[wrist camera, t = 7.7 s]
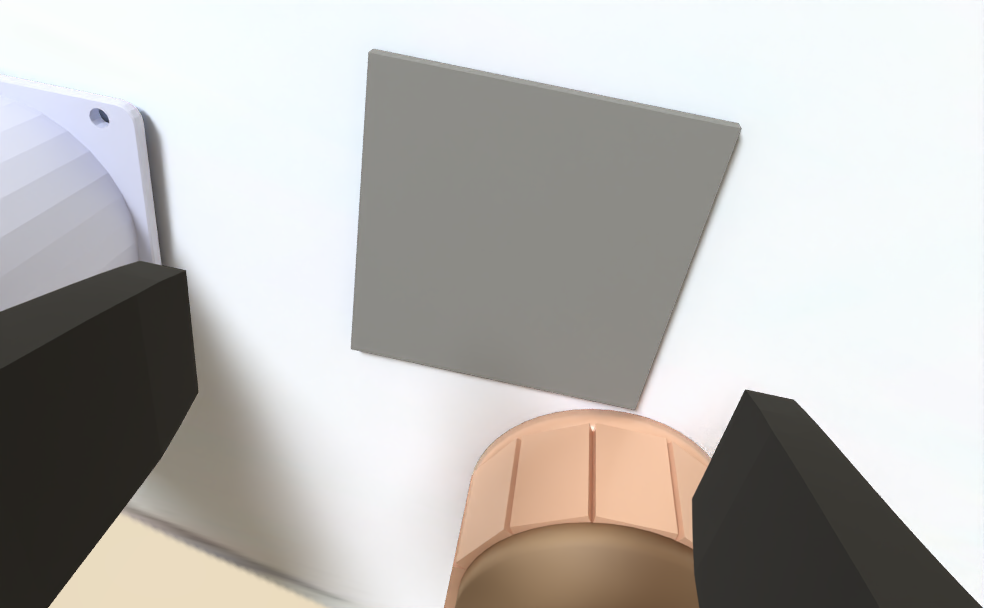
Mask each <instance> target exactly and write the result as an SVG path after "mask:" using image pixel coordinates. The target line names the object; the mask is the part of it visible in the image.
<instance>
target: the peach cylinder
mask: <svg viewBox="0 0 984 608" xmlns="http://www.w3.org/2000/svg"><path fill="white" fill-rule="evenodd" d="M710 461H711V458H710V457H709V456H708V455H707V454H706V452H705V451H704V450H702V449H701V448H700V447H699V446H698V445H697V444H696V443H695V442H693V441H692V440H690V439H689V438H687V437H686V436H685V435H683V434H682V433H680V432H678V431H676V430H674V429H672V428H671V427H669V426H667V425H665V424H662V423H660V422H657V421H654V420H652V419H649V418H646V417H642V416H638V415H635V414H631V413H626V412H619V411H613V410H600V409H581V410H569V411H562V412H555V413H551V414H547V415H543V416H539V417H537V418H534V419H531V420H529V421H526V422H524V423H522V424H520V425H518V426H516V427H514V428H512V429H510V430H509V431H507V432H506V433H504V434H503V435H501V436H500V437H499V438H497V439H496V440H495V441H494V442H493V443H492V444H491V445H490V446H489V447H488V448H487V449H486V450H485V452H484V453H483V454H482V456H481V457H480V459H479V461H478V462H477V464H476V466H475V468H474V471H473V474H472V477H471V481H470V486H469V491H468V496H467V500H466V505H465V510H464V514H463V519H462V524H461V529H460V533H459V538H458V543H457V548H456V553H455V557H454V562H453V567H452V572H451V576H450V581H449V586H448V591H447V595H446V600H445V605H444V608H455V605H456V599H457V594H458V589H459V586H460V583H461V579H462V577H463V575H464V574H465V572H466V570H467V568H468V567H469V566H470V565H471V563H472V562H473V561H474V560H475V559H476V558H477V557H478V556H479V555H480V554H481V553H483V552H484V551H485V550H486V549H488V548H489V547H491V546H492V545H494V544H496V543H497V542H499V541H501V540H503V539H505V538H507V537H510V536H512V535H514V534H517V533H520V532H523V531H526V530H529V529H533V528H538V527H543V526H547V525H554V524H563V523H583V522H592V523H608V524H616V525H623V526H629V527H634V528H638V529H642V530H646V531H650V532H654V533H657V534H660V535H662V536H665V537H668V538H671V539H673V540H676V541H678V542H680V543H682V544H684V545H686V546H689V547H690V548H692V549H693V536H692V497H693V495H694V493H695V491H696V489H697V487H698V485H699V483H700V481H701V479H702V477H703V475H704V473H705V471H706V469H707V467H708V465H709V463H710Z"/></svg>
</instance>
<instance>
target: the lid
mask: <svg viewBox="0 0 984 608" xmlns="http://www.w3.org/2000/svg"><path fill="white" fill-rule="evenodd" d="M455 608H699V603H698V597H697V590H696V583H695V576H694V560H693V549H692V548H690V547H689V546H686V545H684V544H682V543H680V542H678V541H676V540H673V539H671V538H668V537H665V536H662V535H660V534H657V533H654V532H650V531H646V530H642V529H638V528H634V527H629V526H623V525H616V524H608V523H592V522H583V523H563V524H554V525H547V526H543V527H538V528H533V529H529V530H526V531H523V532H520V533H517V534H514V535H512V536H510V537H507V538H505V539H503V540H501V541H499V542H497V543H496V544H494V545H492V546H491V547H489V548H488V549H486V550H485V551H484V552H483V553H481V554H480V555H479V556H478V557H477V558H476V559H475V560H474V561H473V562H472V563H471V565H470V566H469V567H468V568H467V570H466V572H465V574H464V575H463V577H462V579H461V583H460V586H459V589H458V594H457V599H456V605H455Z"/></svg>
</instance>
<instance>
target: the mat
mask: <svg viewBox="0 0 984 608" xmlns="http://www.w3.org/2000/svg"><path fill="white" fill-rule="evenodd" d="M740 131H741V127H740V125H739V123H734V122H730V121H725V120H720V119H715V118H710V117H705V116H700V115H695V114H690V113H685V112H681V111H676V110H671V109H666V108H661V107H656V106H651V105H646V104H641V103H636V102H632V101H627V100H622V99H617V98H612V97H607V96H602V95H597V94H592V93H587V92H582V91H578V90H573V89H568V88H563V87H558V86H553V85H548V84H543V83H538V82H533V81H529V80H524V79H519V78H514V77H509V76H504V75H499V74H494V73H489V72H484V71H480V70H475V69H470V68H465V67H460V66H455V65H450V64H445V63H440V62H435V61H431V60H426V59H421V58H416V57H411V56H406V55H401V54H396V53H391V52H386V51H382V50H377V49H372V50H371V51H370V52H369V53H368V70H367V86H366V103H365V120H364V136H363V153H362V170H361V187H360V203H359V220H358V237H357V254H356V270H355V287H354V304H353V321H352V337H351V349H352V350H357V351H362V352H366V353H371V354H376V355H380V356H385V357H390V358H394V359H399V360H404V361H408V362H413V363H418V364H422V365H427V366H432V367H436V368H441V369H446V370H450V371H455V372H460V373H464V374H469V375H474V376H479V377H483V378H488V379H493V380H497V381H502V382H507V383H511V384H516V385H521V386H525V387H530V388H535V389H539V390H544V391H549V392H553V393H558V394H563V395H567V396H572V397H577V398H581V399H586V400H591V401H595V402H600V403H605V404H609V405H614V406H619V407H623V408H628V409H633V410H635V409H636V406H637V403H638V401H639V398H640V396H641V393H642V390H643V388H644V385H645V382H646V380H647V377H648V374H649V372H650V369H651V366H652V364H653V361H654V359H655V356H656V353H657V351H658V348H659V345H660V343H661V340H662V337H663V335H664V332H665V329H666V327H667V324H668V321H669V319H670V316H671V314H672V311H673V308H674V306H675V303H676V300H677V298H678V295H679V292H680V290H681V287H682V284H683V282H684V279H685V277H686V274H687V271H688V269H689V266H690V263H691V261H692V258H693V255H694V253H695V250H696V247H697V245H698V242H699V240H700V237H701V234H702V232H703V229H704V226H705V224H706V221H707V218H708V216H709V213H710V210H711V208H712V205H713V203H714V200H715V197H716V195H717V192H718V189H719V187H720V184H721V181H722V179H723V176H724V173H725V171H726V168H727V165H728V163H729V160H730V158H731V155H732V152H733V150H734V147H735V144H736V142H737V139H738V136H739V134H740Z"/></svg>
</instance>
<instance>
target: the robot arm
mask: <svg viewBox="0 0 984 608" xmlns="http://www.w3.org/2000/svg"><path fill="white" fill-rule="evenodd" d="M99 109H100V110H102V111H104V112H105V114H106V115H107V116H108V119H109V123H107V122H105V121H104V120H103V119H102V118H101V116H100V114H99ZM197 394H198V383H197V374H196V364H195V354H194V344H193V335H192V325H191V315H190V306H189V296H188V286H187V276H186V270H181V269H177V268H172V267H167V266H163V265H162V264H161V256H160V248H159V241H158V233H157V225H156V217H155V209H154V201H153V193H152V185H151V177H150V169H149V161H148V153H147V145H146V137H145V129H144V122H143V118H142V115H141V113H140V112H139V111H138V109H137V108H136V107H135V106H134V105H133V104H131V103H130V102H128V101H125V100H122V99H117V98H113V97H108V96H103V95H98V94H93V93H88V92H84V91H79V90H74V89H69V88H64V87H59V86H55V85H50V84H45V83H40V82H35V81H31V80H26V79H21V78H16V77H11V76H6V75H2V74H0V608H48V607H49V606H50V604H51V603H52V602H53V601H54V599H55V598H56V597H57V595H58V594H59V592H60V591H61V590H62V589H63V587H64V586H65V585H66V584H67V582H68V581H69V580H70V578H71V577H72V575H73V574H74V573H75V572H76V570H77V569H78V567H79V566H80V565H81V564H82V562H83V561H84V560H85V559H86V557H87V556H88V555H89V553H90V552H91V551H92V549H93V548H94V547H95V545H96V544H97V543H98V541H99V540H100V539H101V538H102V536H103V535H104V534H105V532H106V531H107V530H108V528H109V527H110V526H111V524H112V523H113V522H114V521H115V519H116V518H117V517H118V515H119V514H120V513H121V511H122V510H123V509H124V507H125V506H126V505H127V503H128V502H129V501H130V499H131V498H132V497H133V495H134V494H135V493H136V491H137V490H138V489H139V487H140V486H141V485H142V483H143V482H144V481H145V479H146V478H147V477H148V475H149V474H150V473H151V471H152V470H153V468H154V467H155V466H156V464H157V463H158V462H159V460H160V459H161V457H162V456H163V454H164V452H165V451H166V449H167V447H168V446H169V444H170V442H171V440H172V439H173V437H174V435H175V434H176V432H177V430H178V429H179V427H180V425H181V423H182V421H183V419H184V418H185V416H186V414H187V412H188V410H189V408H190V407H191V405H192V403H193V401H194V399H195V397H196V395H197ZM692 536H693V560H694V576H695V583H696V590H697V597H698V603H699V608H983V607H982V606H981V605H980V604H979V603H978V602H977V601H976V600H975V599H974V598H973V597H972V596H971V595H970V594H969V593H968V592H967V591H966V590H965V589H964V588H963V587H962V586H961V585H960V584H959V583H958V582H957V580H956V579H955V578H954V577H953V576H952V575H951V574H950V573H949V572H948V571H947V570H946V569H945V568H944V567H943V565H942V564H941V563H940V562H939V561H938V560H937V559H936V558H935V557H934V556H933V555H932V554H931V553H930V551H929V550H928V549H927V548H926V547H925V546H924V545H923V544H922V543H921V542H920V540H919V539H918V538H917V537H916V536H915V535H914V534H913V533H912V532H911V530H910V529H909V528H908V527H907V526H906V525H905V524H904V523H903V522H902V520H901V519H900V518H899V517H898V516H897V515H896V514H895V513H894V511H893V510H892V509H891V508H890V507H889V506H888V505H887V503H886V502H885V501H884V500H883V499H882V498H881V497H880V496H879V494H878V493H877V492H876V491H875V490H874V489H873V488H872V486H871V485H870V484H869V483H868V482H867V481H866V480H865V478H864V477H863V476H862V475H861V474H860V473H859V471H858V470H857V469H856V468H855V467H854V466H853V465H852V463H851V462H850V461H849V460H848V459H847V458H846V457H845V455H844V454H843V453H842V452H841V451H840V450H839V448H838V447H837V446H836V445H835V444H834V443H833V442H832V440H831V439H830V438H829V437H828V436H827V435H826V434H825V433H824V431H823V430H822V429H821V428H820V427H819V426H818V425H817V424H816V422H815V421H814V420H813V419H812V418H811V417H810V416H809V415H808V414H807V413H806V412H805V411H804V410H803V409H802V408H801V407H800V405H799V404H798V403H797V402H796V401H795V400H793V399H788V398H783V397H778V396H774V395H769V394H764V393H760V392H755V391H750V390H746V389H745V391H744V393H743V395H742V397H741V399H740V401H739V403H738V406H737V408H736V410H735V412H734V414H733V416H732V418H731V420H730V422H729V424H728V426H727V428H726V430H725V432H724V434H723V436H722V438H721V440H720V442H719V444H718V446H717V448H716V450H715V453H714V455H713V457H712V459H711V461H710V463H709V465H708V467H707V469H706V471H705V473H704V475H703V477H702V479H701V481H700V483H699V485H698V487H697V489H696V491H695V493H694V495H693V497H692Z"/></svg>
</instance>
